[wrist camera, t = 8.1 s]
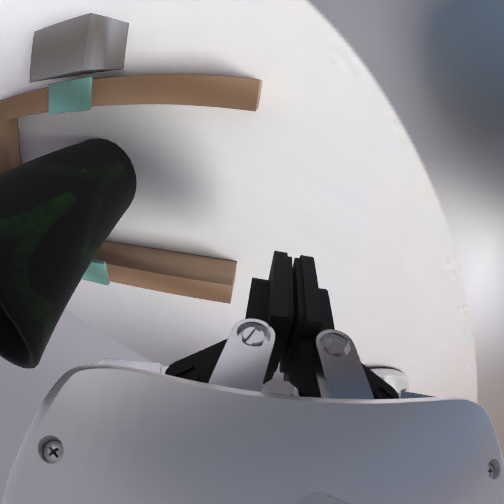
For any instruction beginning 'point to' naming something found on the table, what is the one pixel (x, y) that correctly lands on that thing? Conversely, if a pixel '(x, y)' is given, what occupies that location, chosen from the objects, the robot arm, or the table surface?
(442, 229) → the table surface
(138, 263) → the beam slot
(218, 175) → the table surface
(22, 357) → the cup
